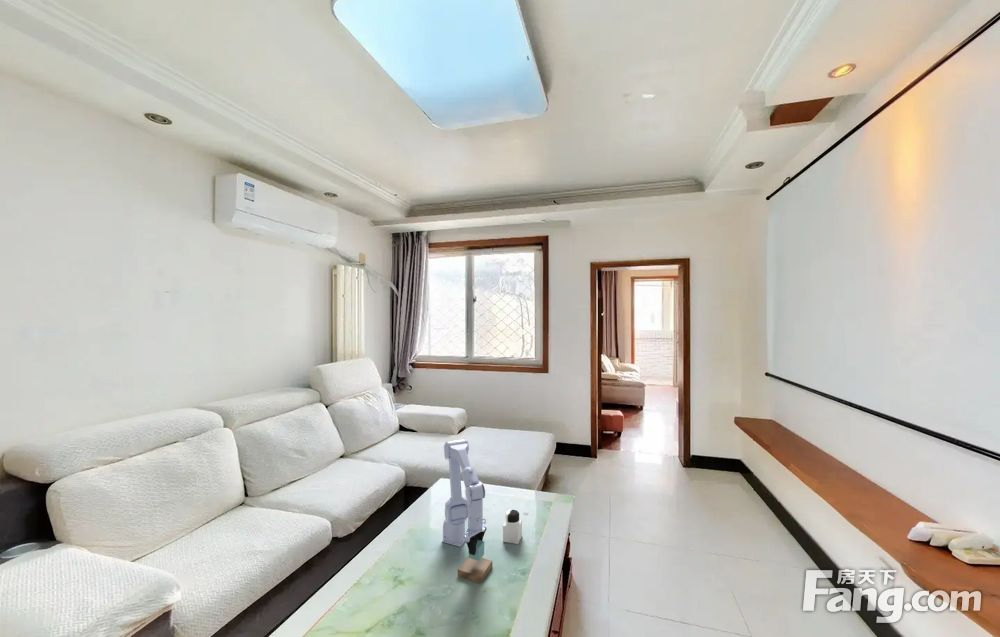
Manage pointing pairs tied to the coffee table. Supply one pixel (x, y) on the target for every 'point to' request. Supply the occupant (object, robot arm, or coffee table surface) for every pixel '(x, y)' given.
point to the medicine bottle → (512, 527)
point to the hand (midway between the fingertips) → (475, 550)
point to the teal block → (478, 551)
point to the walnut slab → (475, 569)
